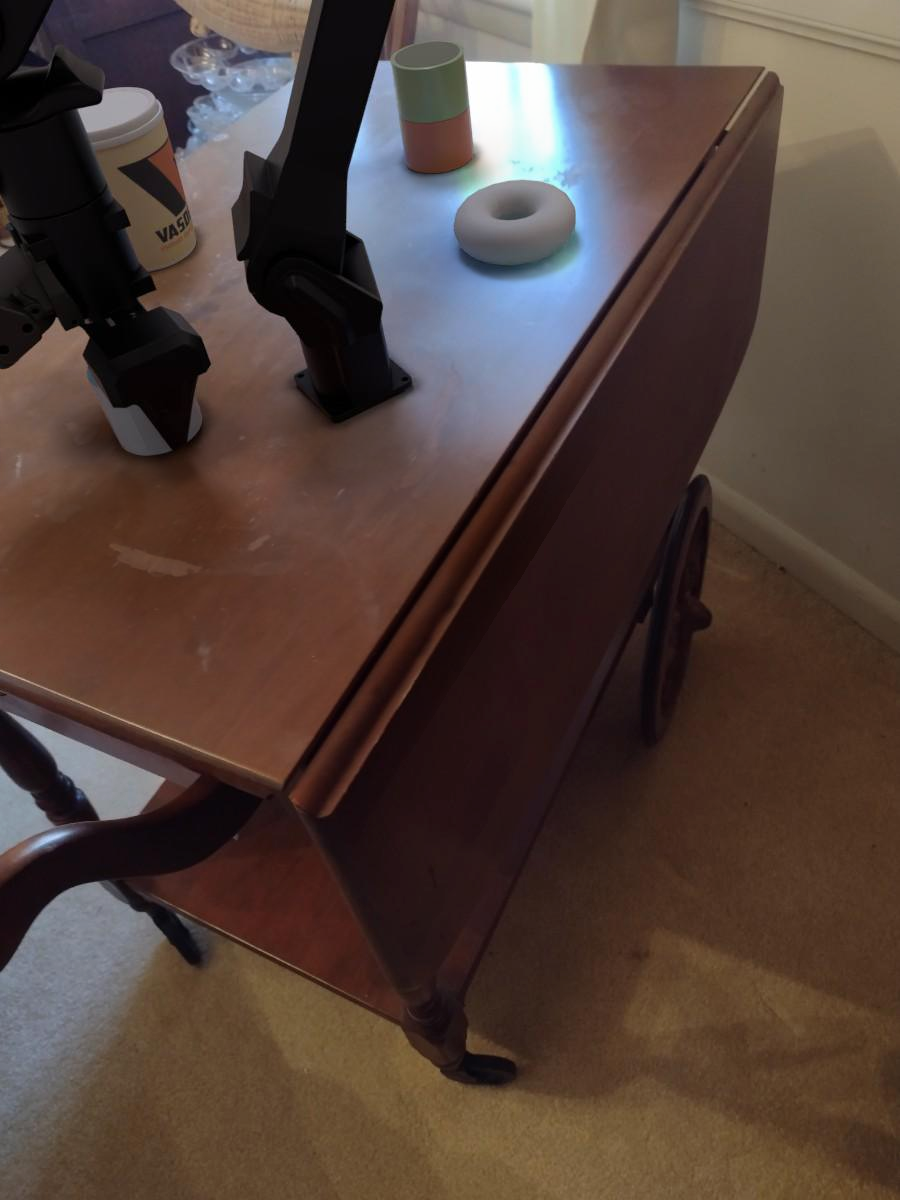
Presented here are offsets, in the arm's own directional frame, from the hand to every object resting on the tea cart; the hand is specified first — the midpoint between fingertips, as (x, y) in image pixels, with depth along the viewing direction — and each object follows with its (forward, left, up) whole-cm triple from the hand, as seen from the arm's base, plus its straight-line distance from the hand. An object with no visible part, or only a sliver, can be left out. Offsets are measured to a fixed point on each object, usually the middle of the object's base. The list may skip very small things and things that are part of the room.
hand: (155, 414), depth 64 cm
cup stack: (+21, -37, -1) cm, 43 cm away
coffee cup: (+25, -9, -1) cm, 27 cm away
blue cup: (0, 0, -1) cm, 1 cm away
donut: (+3, -33, -1) cm, 33 cm away
